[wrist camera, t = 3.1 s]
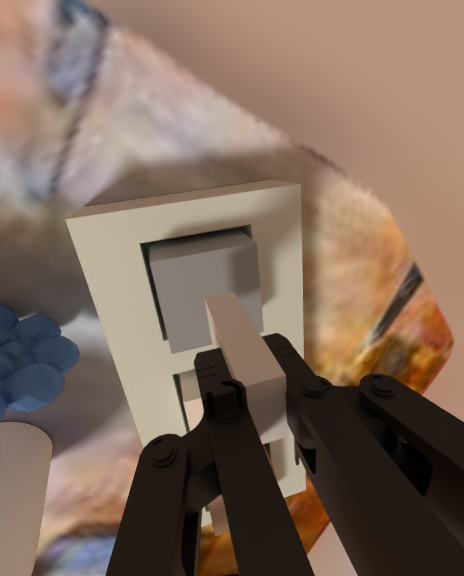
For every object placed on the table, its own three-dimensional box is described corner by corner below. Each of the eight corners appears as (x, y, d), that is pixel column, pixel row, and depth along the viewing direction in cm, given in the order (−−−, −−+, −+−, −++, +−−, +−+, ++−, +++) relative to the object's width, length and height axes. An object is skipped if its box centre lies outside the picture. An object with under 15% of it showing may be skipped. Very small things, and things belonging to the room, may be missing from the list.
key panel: (286, 449, 36) (305, 490, 32) (170, 486, 34) (174, 536, 29) (272, 179, 23) (301, 183, 19) (83, 206, 21) (65, 219, 16)
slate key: (246, 305, 23) (264, 331, 19) (168, 322, 22) (171, 354, 18) (238, 228, 21) (256, 242, 17) (149, 243, 19) (149, 262, 16)
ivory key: (256, 402, 27) (272, 438, 24) (191, 420, 26) (197, 462, 23) (250, 348, 25) (267, 379, 21) (178, 366, 24) (183, 402, 20)
